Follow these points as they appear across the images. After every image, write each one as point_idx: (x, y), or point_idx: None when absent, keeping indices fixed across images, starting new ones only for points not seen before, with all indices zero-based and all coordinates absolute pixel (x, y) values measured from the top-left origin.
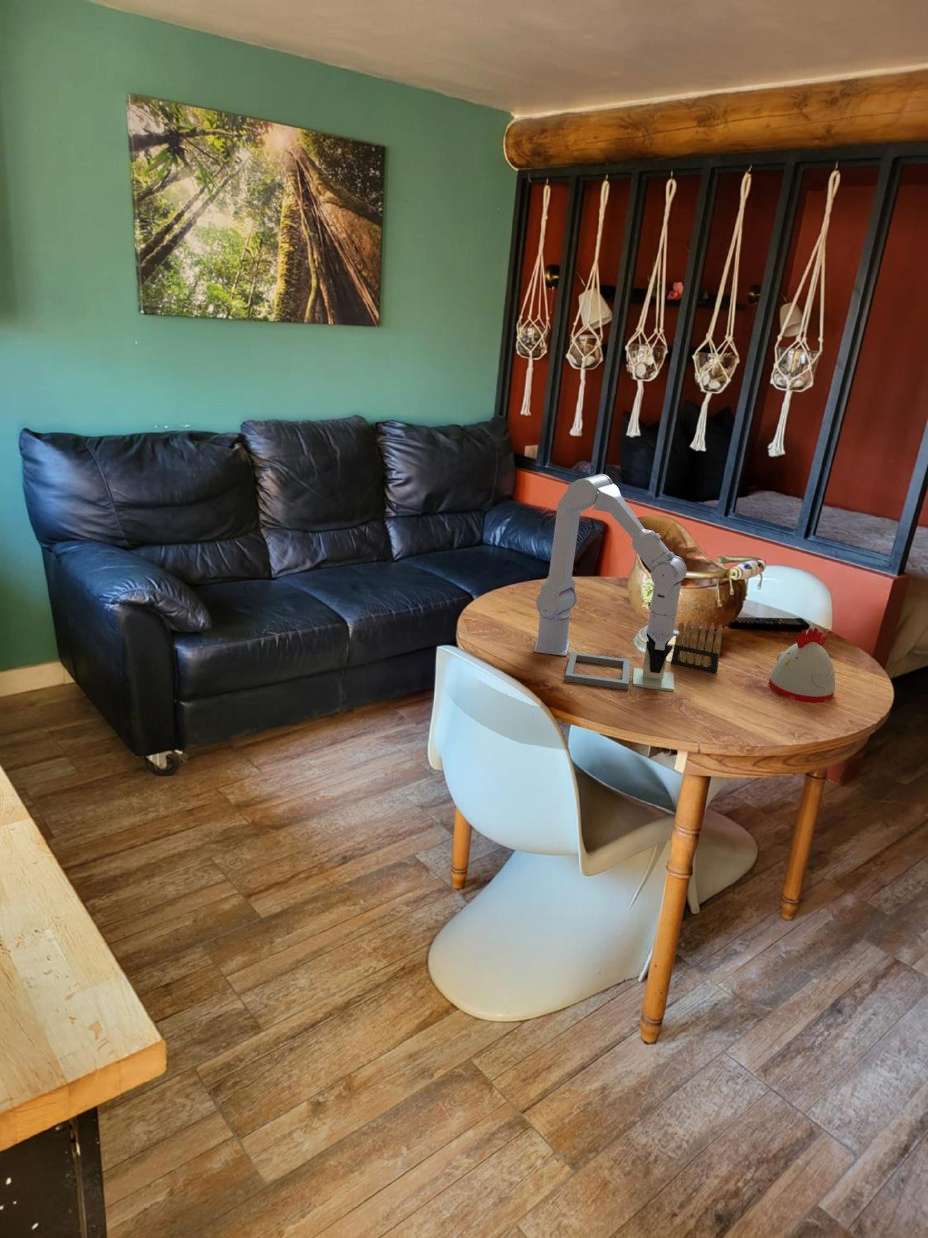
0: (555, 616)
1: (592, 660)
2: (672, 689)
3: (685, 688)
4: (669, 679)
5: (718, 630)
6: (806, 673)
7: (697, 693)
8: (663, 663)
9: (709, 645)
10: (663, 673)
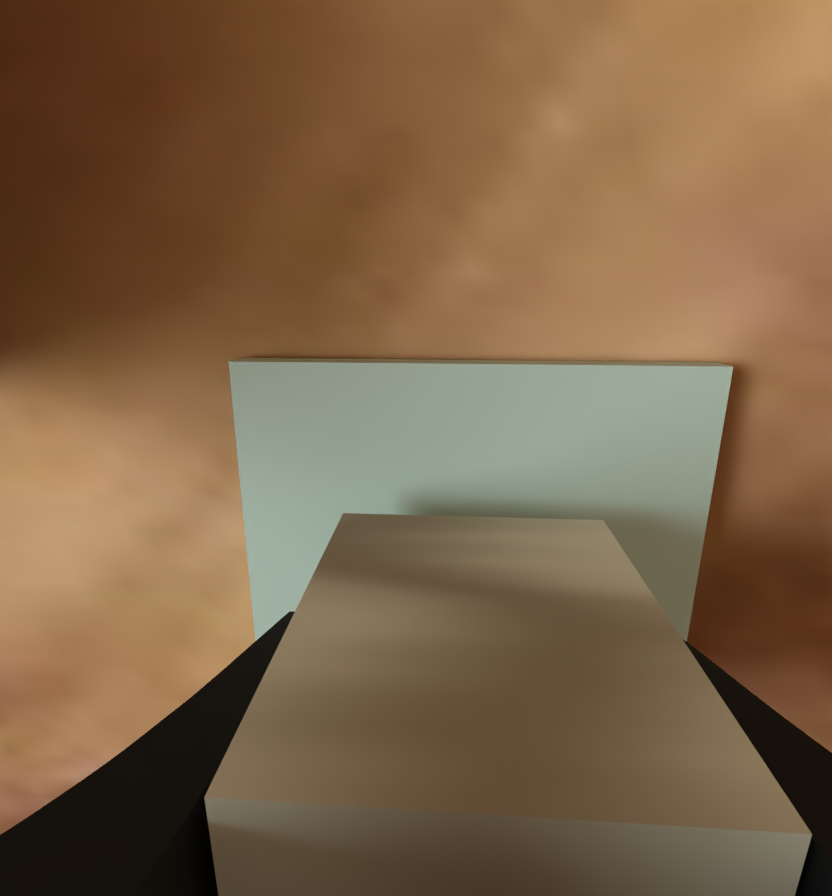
0: None
1: None
2: (729, 384)
3: (581, 207)
4: (444, 413)
5: None
6: None
7: (712, 33)
8: (818, 747)
9: None
10: (629, 566)
